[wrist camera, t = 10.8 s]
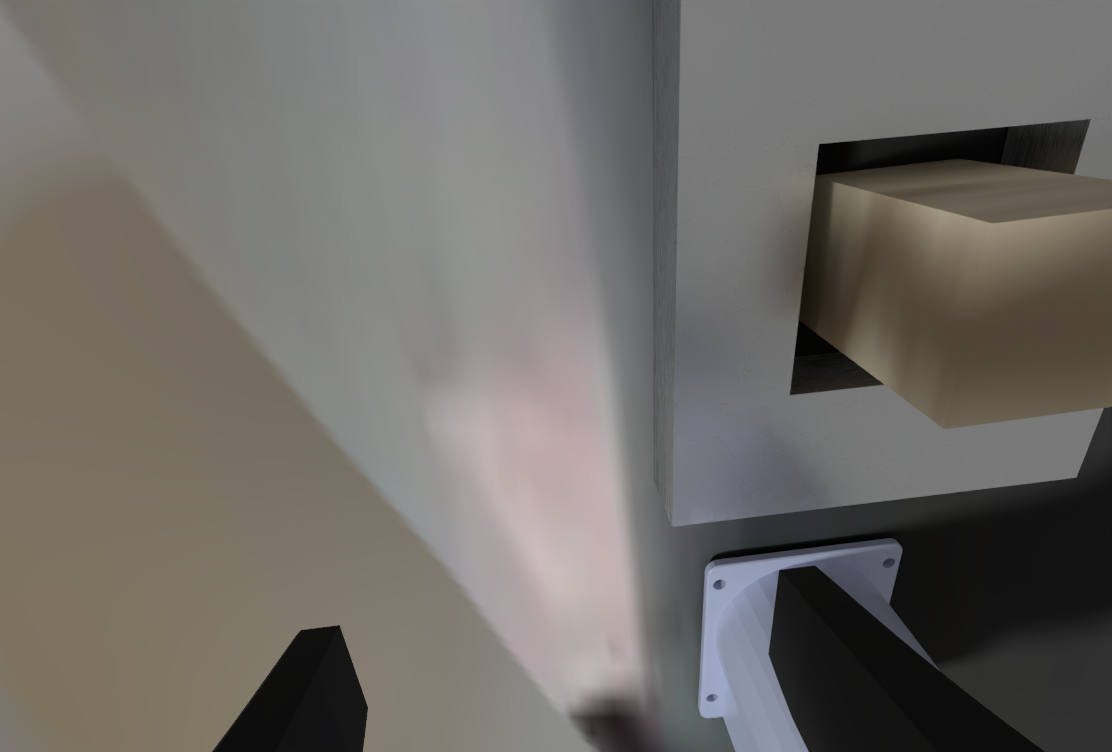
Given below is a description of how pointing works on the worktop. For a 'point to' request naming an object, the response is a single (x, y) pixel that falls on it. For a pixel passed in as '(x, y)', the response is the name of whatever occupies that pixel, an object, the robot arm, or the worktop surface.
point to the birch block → (967, 286)
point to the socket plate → (783, 226)
